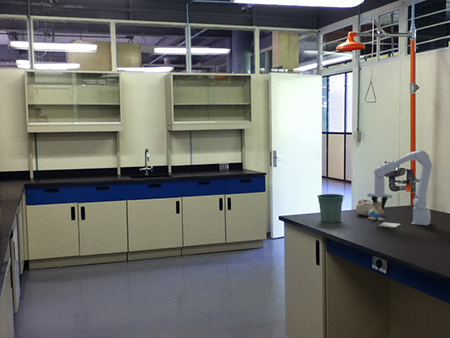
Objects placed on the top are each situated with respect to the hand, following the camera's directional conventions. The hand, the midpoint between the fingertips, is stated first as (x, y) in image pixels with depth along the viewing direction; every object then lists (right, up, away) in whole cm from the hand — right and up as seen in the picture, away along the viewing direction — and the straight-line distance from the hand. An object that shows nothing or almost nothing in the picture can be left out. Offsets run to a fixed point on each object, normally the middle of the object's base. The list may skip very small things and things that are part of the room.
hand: (379, 209), depth 306 cm
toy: (+1, -7, +22) cm, 23 cm away
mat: (+4, -9, -6) cm, 12 cm away
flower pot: (-27, -9, +12) cm, 31 cm away
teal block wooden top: (0, -2, 0) cm, 3 cm away
